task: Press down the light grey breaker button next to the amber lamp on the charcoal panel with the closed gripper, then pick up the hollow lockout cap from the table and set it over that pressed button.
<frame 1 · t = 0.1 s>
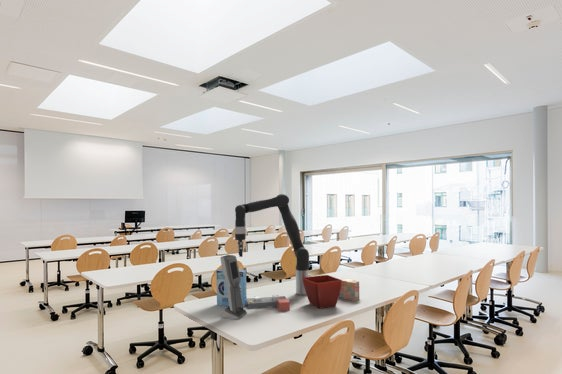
hand: (240, 255, 242), 29 cm above the table, tool pointing down, fingers open, 8 cm apart
breaker b: (257, 299, 222), point 4 cm above the table, slide at 0.0 cm
breaker panel: (267, 304, 223), on the table
breaker a: (275, 297, 225), point 4 cm above the table, slide at 0.0 cm
plant pot: (322, 305, 220), on the table
lockout cap: (283, 308, 214), on the table
gum box: (231, 305, 222), on the table
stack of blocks: (343, 297, 238), on the table
thermal camera: (234, 316, 202), on the table
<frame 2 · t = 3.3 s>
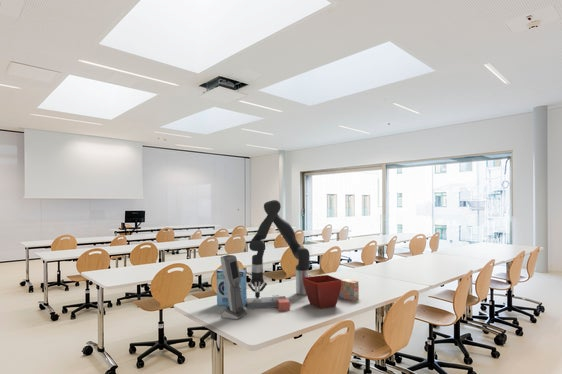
hand: (257, 297, 223), 5 cm above the table, tool pointing down, fingers closed
breaker b: (257, 299, 222), point 3 cm above the table, slide at 0.3 cm, touching gripper
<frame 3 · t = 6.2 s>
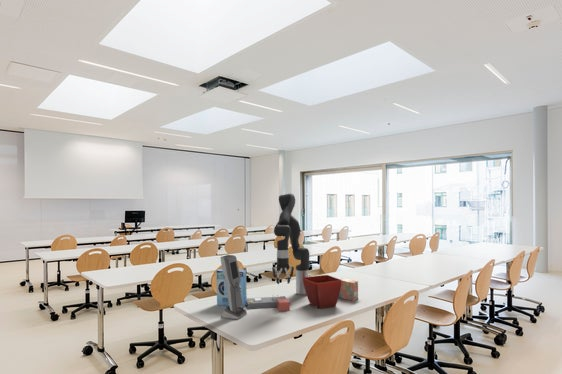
hand: (283, 283, 215), 16 cm above the table, tool pointing down, fingers open, 6 cm apart
breaker b: (257, 301, 222), point 2 cm above the table, slide at 1.3 cm
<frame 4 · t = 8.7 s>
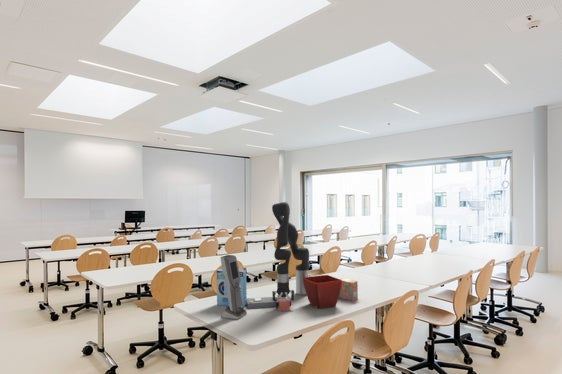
hand: (283, 307, 214), 1 cm above the table, tool pointing down, fingers closed on lockout cap, 6 cm apart
lockout cap: (283, 308, 214), on the table, touching gripper
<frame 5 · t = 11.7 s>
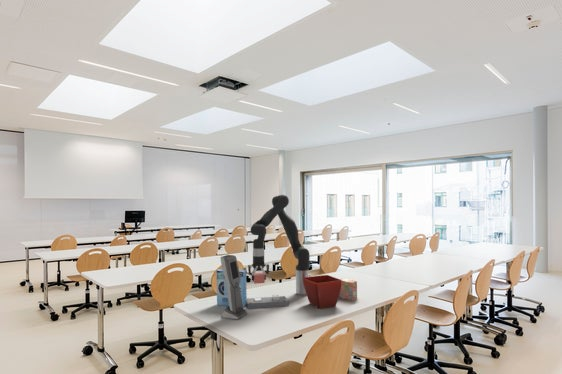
hand: (258, 280, 222), 16 cm above the table, tool pointing down, fingers closed on lockout cap, 6 cm apart
lockout cap: (258, 281, 222), point 15 cm above the table, touching gripper
when the fingers open (5 cm above the table, at t = 14.9 s): lockout cap drops 1 cm, resting on breaker panel.
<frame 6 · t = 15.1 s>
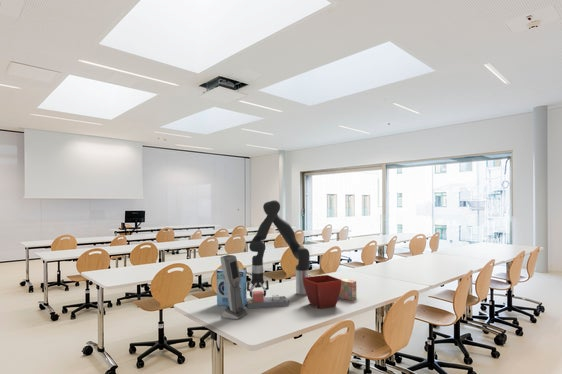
hand: (257, 296, 222), 5 cm above the table, tool pointing down, fingers open, 8 cm apart
lockout cap: (257, 300, 222), point 3 cm above the table, touching breaker panel
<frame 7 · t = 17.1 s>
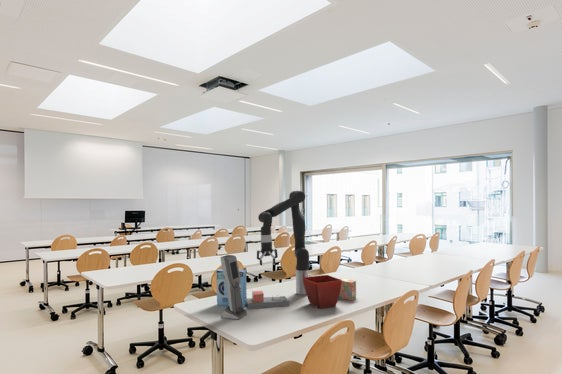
hand: (267, 264, 234), 24 cm above the table, tool pointing down, fingers open, 8 cm apart
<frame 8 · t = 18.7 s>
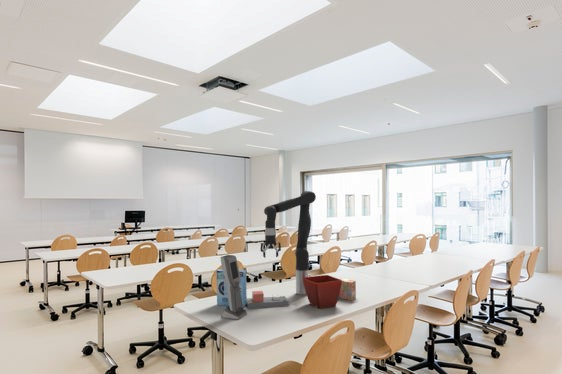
hand: (270, 257, 240), 28 cm above the table, tool pointing down, fingers open, 8 cm apart
at the end: breaker b slide at 1.3 cm; lockout cap 0.0 cm from the target spot, point 3.0 cm above the table; breaker a slide at 0.0 cm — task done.
